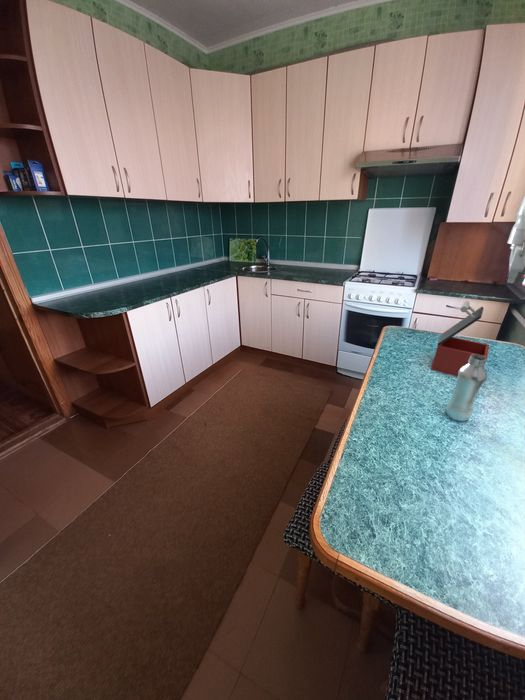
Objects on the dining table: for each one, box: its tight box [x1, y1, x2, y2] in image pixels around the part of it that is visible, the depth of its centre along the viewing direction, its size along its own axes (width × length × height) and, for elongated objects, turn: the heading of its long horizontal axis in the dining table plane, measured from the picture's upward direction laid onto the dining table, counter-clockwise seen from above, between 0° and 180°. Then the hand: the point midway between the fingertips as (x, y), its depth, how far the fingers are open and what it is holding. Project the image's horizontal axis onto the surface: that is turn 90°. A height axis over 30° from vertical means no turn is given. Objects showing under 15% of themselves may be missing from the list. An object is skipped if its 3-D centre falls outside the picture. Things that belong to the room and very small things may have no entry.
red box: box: [430, 336, 490, 377], centre depth 107 cm, size 15×12×10 cm
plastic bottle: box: [445, 354, 487, 422], centre depth 81 cm, size 6×7×20 cm
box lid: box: [437, 300, 484, 346], centre depth 104 cm, size 16×12×6 cm
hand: (510, 280), depth 103 cm, fingers open, 8 cm apart
